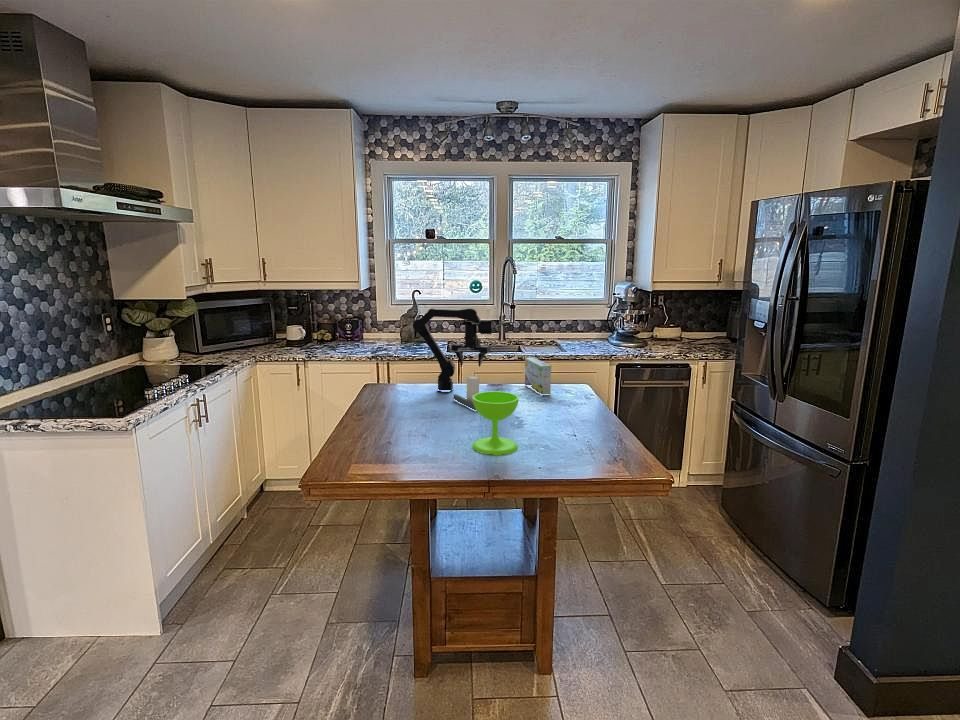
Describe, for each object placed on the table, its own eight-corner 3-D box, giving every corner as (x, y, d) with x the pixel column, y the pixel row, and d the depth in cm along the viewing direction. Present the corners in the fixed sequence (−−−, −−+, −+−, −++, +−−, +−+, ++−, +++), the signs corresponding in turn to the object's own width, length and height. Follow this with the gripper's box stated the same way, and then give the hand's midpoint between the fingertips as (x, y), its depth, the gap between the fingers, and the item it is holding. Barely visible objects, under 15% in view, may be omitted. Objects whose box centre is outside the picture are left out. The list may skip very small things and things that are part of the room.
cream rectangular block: (466, 402, 236) (466, 376, 234) (473, 401, 238) (473, 375, 235) (472, 405, 232) (472, 379, 230) (478, 404, 234) (479, 378, 231)
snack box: (523, 386, 270) (524, 357, 267) (533, 385, 271) (534, 357, 268) (540, 396, 250) (541, 365, 247) (551, 395, 251) (552, 365, 249)
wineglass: (526, 450, 180) (528, 399, 177) (486, 458, 172) (487, 406, 169) (502, 436, 194) (502, 389, 190) (463, 443, 186) (464, 394, 183)
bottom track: (453, 400, 241) (453, 394, 241) (470, 398, 246) (470, 392, 245) (475, 411, 224) (475, 404, 224) (492, 409, 229) (492, 402, 228)
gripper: (494, 333, 257) (494, 364, 260) (459, 330, 263) (459, 361, 266) (486, 336, 246) (486, 368, 249) (450, 333, 253) (450, 365, 256)
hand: (470, 365), depth 255 cm, fingers open, 9 cm apart
